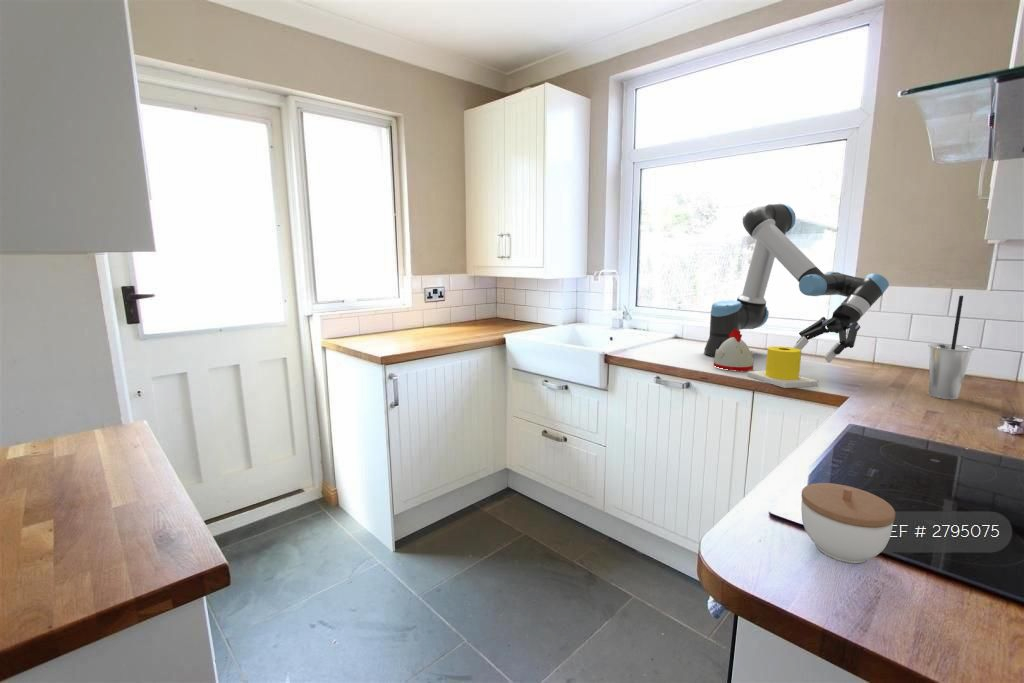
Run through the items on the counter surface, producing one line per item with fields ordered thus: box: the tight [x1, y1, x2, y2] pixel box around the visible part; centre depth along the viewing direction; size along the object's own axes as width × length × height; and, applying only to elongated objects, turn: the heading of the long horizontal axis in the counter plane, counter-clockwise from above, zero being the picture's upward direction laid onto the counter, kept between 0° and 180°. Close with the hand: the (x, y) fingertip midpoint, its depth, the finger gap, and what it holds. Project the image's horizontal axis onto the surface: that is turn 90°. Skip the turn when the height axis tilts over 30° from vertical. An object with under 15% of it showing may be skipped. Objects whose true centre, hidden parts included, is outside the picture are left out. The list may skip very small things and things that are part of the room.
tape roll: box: [765, 346, 802, 380], centre depth 160 cm, size 10×10×9 cm
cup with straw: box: [927, 295, 975, 401], centre depth 139 cm, size 11×11×30 cm
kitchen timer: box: [713, 329, 754, 372], centre depth 181 cm, size 14×14×15 cm
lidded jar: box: [800, 482, 896, 564], centre depth 66 cm, size 11×11×9 cm
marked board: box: [747, 370, 819, 389], centre depth 161 cm, size 17×13×2 cm
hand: (809, 355), depth 162 cm, fingers open, 13 cm apart
